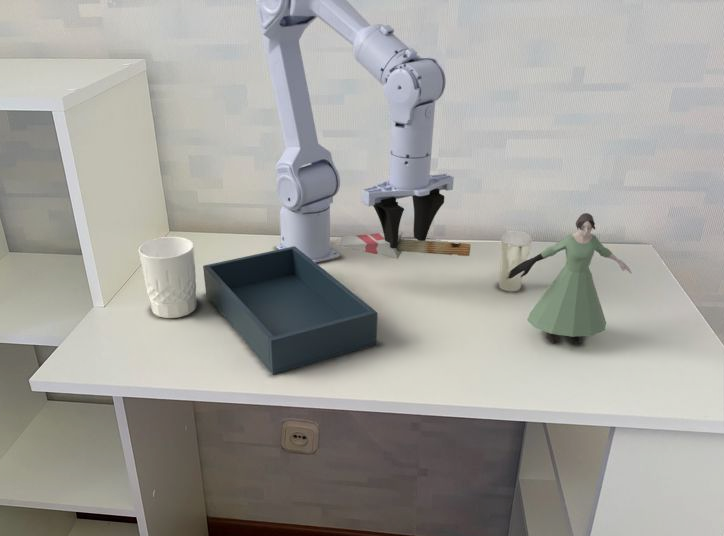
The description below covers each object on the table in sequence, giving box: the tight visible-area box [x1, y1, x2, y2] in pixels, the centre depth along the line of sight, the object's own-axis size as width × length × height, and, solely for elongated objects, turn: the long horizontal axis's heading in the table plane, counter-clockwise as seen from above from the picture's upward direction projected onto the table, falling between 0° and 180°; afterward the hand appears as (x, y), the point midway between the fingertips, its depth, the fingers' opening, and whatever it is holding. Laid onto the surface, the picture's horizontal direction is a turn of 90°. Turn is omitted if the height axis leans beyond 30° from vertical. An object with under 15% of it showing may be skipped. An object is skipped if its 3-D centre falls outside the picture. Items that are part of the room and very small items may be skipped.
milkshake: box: [498, 229, 538, 292], centre depth 108 cm, size 4×5×10 cm
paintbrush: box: [336, 230, 471, 260], centre depth 106 cm, size 4×3×20 cm
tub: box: [202, 246, 378, 375], centre depth 102 cm, size 26×16×5 cm, turn 26°
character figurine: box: [506, 212, 632, 345], centre depth 93 cm, size 16×8×18 cm, turn 83°
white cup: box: [138, 236, 198, 319], centre depth 105 cm, size 8×8×10 cm
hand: (405, 242), depth 106 cm, fingers closed on paintbrush, 4 cm apart
